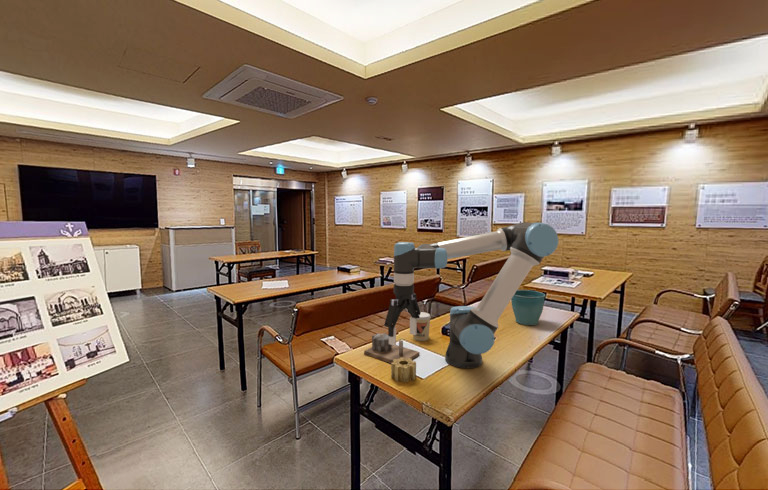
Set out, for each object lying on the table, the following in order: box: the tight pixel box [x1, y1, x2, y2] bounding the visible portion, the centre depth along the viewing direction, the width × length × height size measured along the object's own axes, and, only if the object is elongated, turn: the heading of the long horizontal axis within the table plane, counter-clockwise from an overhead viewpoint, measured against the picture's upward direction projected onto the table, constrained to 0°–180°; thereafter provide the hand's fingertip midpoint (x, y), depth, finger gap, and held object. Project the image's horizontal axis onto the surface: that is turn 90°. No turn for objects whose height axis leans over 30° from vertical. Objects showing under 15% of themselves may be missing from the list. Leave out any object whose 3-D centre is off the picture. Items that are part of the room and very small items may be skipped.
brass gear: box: [390, 357, 417, 384], centre depth 125 cm, size 9×9×6 cm
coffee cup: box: [412, 311, 431, 342], centre depth 165 cm, size 9×9×12 cm
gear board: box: [363, 332, 421, 364], centre depth 145 cm, size 20×14×8 cm
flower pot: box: [510, 289, 546, 326], centre depth 188 cm, size 18×18×17 cm
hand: (403, 339), depth 124 cm, fingers open, 13 cm apart
